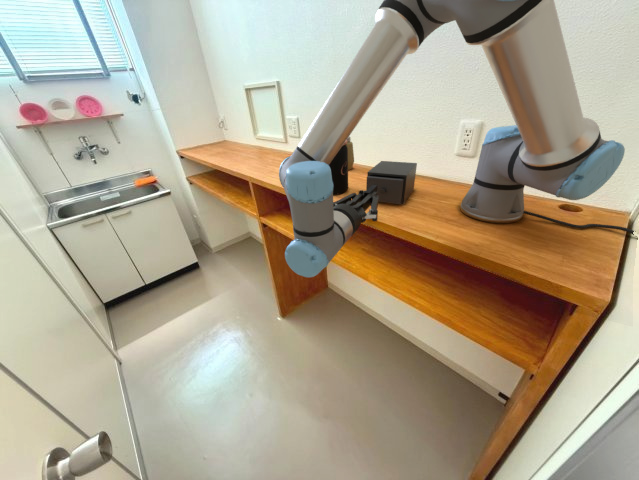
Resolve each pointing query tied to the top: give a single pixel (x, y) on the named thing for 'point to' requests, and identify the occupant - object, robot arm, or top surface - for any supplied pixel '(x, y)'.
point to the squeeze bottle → (350, 154)
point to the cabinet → (397, 174)
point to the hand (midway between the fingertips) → (374, 189)
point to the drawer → (387, 188)
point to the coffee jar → (340, 170)
